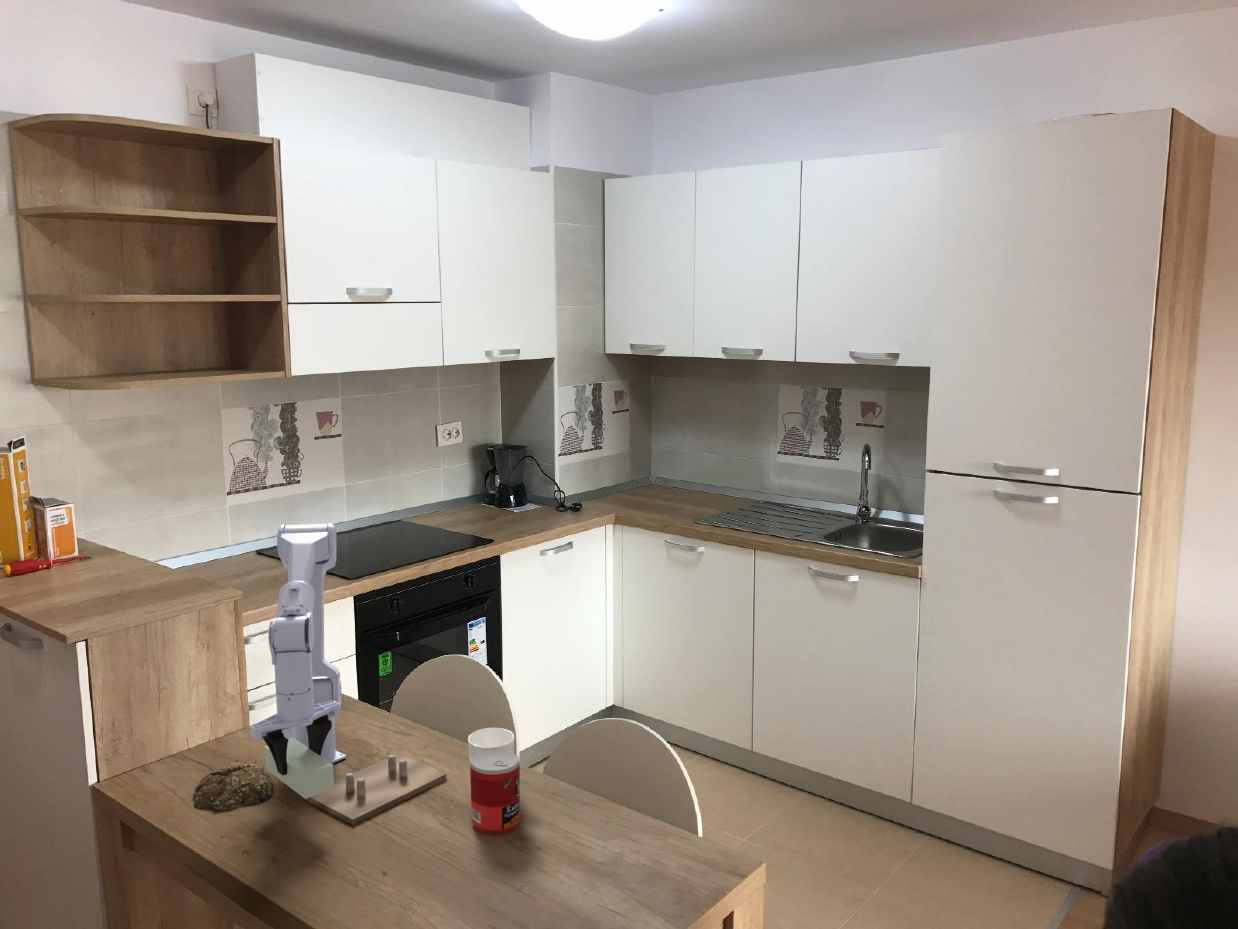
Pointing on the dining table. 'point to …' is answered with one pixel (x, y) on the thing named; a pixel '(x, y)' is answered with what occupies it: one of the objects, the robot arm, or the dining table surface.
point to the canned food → (495, 791)
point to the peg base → (376, 788)
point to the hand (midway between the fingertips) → (298, 767)
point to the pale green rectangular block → (303, 770)
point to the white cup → (490, 740)
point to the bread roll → (233, 786)
